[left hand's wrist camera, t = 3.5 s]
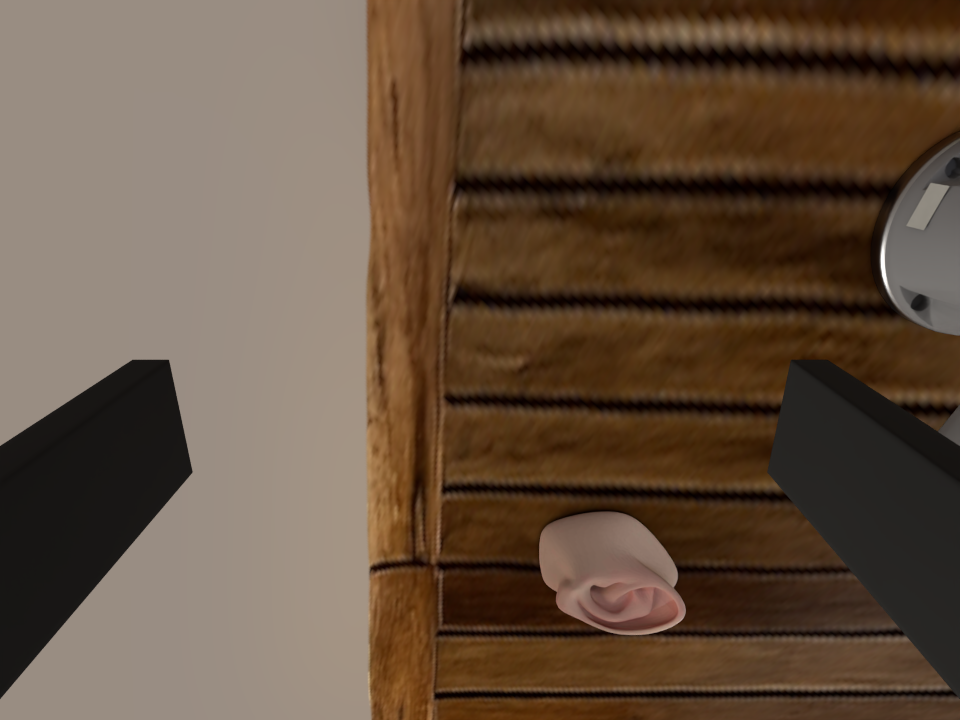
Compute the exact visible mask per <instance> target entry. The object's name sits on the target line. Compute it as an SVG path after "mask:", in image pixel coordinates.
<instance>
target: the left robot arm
mask: <svg viewBox="0 0 960 720" xmlns="http://www.w3.org/2000/svg"><path fill="white" fill-rule="evenodd" d="M871 266H872V273H873V276H874V280H875V283H876V285H877V288H878V290H879V292H880V294H881V295H882V297H883V298H884V300H885V301H886V303H887V304H888V305H889V306H890V307H891V308H892V309H893V310H894V311H895V312H897V313H898V314H899V315H901V316H902V317H904V318H905V319H907V320H909V321H912V322H914V323H916V324H918V325H921V326H923V327H925V328H927V329H930V330H933V331H936V332H941V333H945V334H953V335H960V131H959V132H957V133H955V134H953V135H951V136H949V137H947V138H946V139H944V140H942V141H941V142H939V143H938V144H936V145H935V146H933V147H932V148H930V149H929V150H928V151H927V152H925V153H924V154H923V155H922V156H921V157H920V158H919V159H917V160H916V161H915V162H914V163H913V164H912V165H911V166H910V167H909V168H908V170H907V171H906V172H905V173H904V174H903V175H902V177H901V178H900V179H899V180H898V182H897V183H896V184H895V186H894V187H893V189H892V190H891V192H890V193H889V195H888V197H887V199H886V201H885V202H884V204H883V207H882V209H881V211H880V213H879V216H878V219H877V221H876V225H875V228H874V232H873V237H872V243H871ZM191 474H192V467H191V462H190V458H189V453H188V448H187V443H186V439H185V434H184V429H183V424H182V420H181V415H180V410H179V405H178V401H177V396H176V391H175V386H174V382H173V377H172V372H171V367H170V363H169V360H132V361H130V362H129V363H127V364H125V365H124V366H122V367H121V368H119V369H118V370H116V371H115V372H113V373H112V374H110V375H109V376H107V377H106V378H104V379H102V380H101V381H99V382H98V383H96V384H95V385H93V386H92V387H90V388H89V389H87V390H86V391H84V392H83V393H81V394H79V395H78V396H76V397H75V398H73V399H72V400H70V401H69V402H67V403H66V404H64V405H63V406H61V407H59V408H58V409H56V410H55V411H53V412H52V413H50V414H49V415H47V416H46V417H44V418H43V419H41V420H39V421H38V422H36V423H35V424H33V425H32V426H30V427H29V428H27V429H26V430H24V431H23V432H21V433H19V434H18V435H16V436H15V437H13V438H12V439H10V440H9V441H7V442H6V443H4V444H3V445H1V446H0V699H1V697H2V696H3V695H4V694H5V693H6V691H7V690H8V689H9V688H10V687H11V686H12V684H13V683H14V682H15V681H16V680H17V679H18V677H19V676H20V675H21V674H22V673H23V671H24V670H25V669H26V668H27V667H28V666H29V664H30V663H31V662H32V661H33V660H34V658H35V657H36V656H37V655H38V654H39V653H40V651H41V650H42V649H43V648H44V647H45V646H46V644H47V643H48V642H49V641H50V640H51V638H52V637H53V636H54V635H55V634H56V633H57V631H58V630H59V629H60V628H61V627H62V625H63V624H64V623H65V622H66V621H67V620H68V618H69V617H70V616H71V615H72V614H73V612H74V611H75V610H76V609H77V608H78V607H79V605H80V604H81V603H82V602H83V601H84V600H85V598H86V597H87V596H88V595H89V594H90V592H91V591H92V590H93V589H94V588H95V587H96V585H97V584H98V583H99V582H100V581H101V580H102V578H103V577H104V576H105V575H106V574H107V573H108V571H109V570H110V569H111V568H112V567H113V565H114V564H115V563H116V562H117V561H118V560H119V558H120V557H121V556H122V555H123V554H124V552H125V551H126V550H127V549H128V548H129V547H130V545H131V544H132V543H133V542H134V541H135V539H136V538H137V537H138V536H139V535H140V534H141V532H142V531H143V530H144V529H145V528H146V527H147V525H148V524H149V523H150V522H151V521H152V519H153V518H154V517H155V516H156V515H157V514H158V512H159V511H160V510H161V509H162V508H163V507H164V505H165V504H166V503H167V502H168V501H169V499H170V498H171V497H172V496H173V495H174V494H175V492H176V491H177V490H178V489H179V488H180V486H181V485H182V484H183V483H184V482H185V481H186V479H187V478H188V477H189V476H190V475H191ZM768 474H769V475H770V476H771V477H772V478H773V479H774V481H775V482H776V483H777V484H778V485H779V487H780V488H781V489H782V490H783V491H784V492H785V494H786V495H787V496H788V497H789V498H790V499H791V501H792V502H793V503H794V504H795V505H796V507H797V508H798V509H799V510H800V511H801V512H802V514H803V515H804V516H805V517H806V518H807V520H808V521H809V522H810V523H811V524H812V525H813V527H814V528H815V529H816V530H817V531H818V532H819V534H820V535H821V536H822V537H823V538H824V540H825V541H826V542H827V543H828V544H829V545H830V547H831V548H832V549H833V550H834V551H835V552H836V554H837V555H838V556H839V557H840V558H841V560H842V561H843V562H844V563H845V564H846V565H847V567H848V568H849V569H850V570H851V571H852V573H853V574H854V575H855V576H856V577H857V578H858V580H859V581H860V582H861V583H862V584H863V585H864V587H865V588H866V589H867V590H868V591H869V593H870V594H871V595H872V596H873V597H874V598H875V600H876V601H877V602H878V603H879V604H880V605H881V607H882V608H883V609H884V610H885V611H886V613H887V614H888V615H889V616H890V617H891V618H892V620H893V621H894V622H895V623H896V624H897V626H898V627H899V628H900V629H901V630H902V631H903V633H904V634H905V635H906V636H907V637H908V638H909V640H910V641H911V642H912V643H913V644H914V646H915V647H916V648H917V649H918V650H919V651H920V653H921V654H922V655H923V656H924V657H925V658H926V660H927V661H928V662H929V663H930V664H931V666H932V667H933V668H934V669H935V670H936V671H937V673H938V674H939V675H940V676H941V677H942V679H943V680H944V681H945V682H946V683H947V684H948V686H949V687H950V688H951V689H952V690H953V691H954V693H955V694H956V695H957V696H958V697H959V699H960V405H959V406H958V408H957V409H956V410H955V411H954V412H953V414H952V415H951V416H950V417H949V419H948V420H947V421H946V422H945V423H944V425H943V426H942V427H941V428H940V430H939V431H938V432H937V431H936V430H934V429H933V428H931V427H930V426H928V425H927V424H925V423H924V422H922V421H921V420H919V419H918V418H916V417H914V416H913V415H911V414H910V413H908V412H907V411H905V410H904V409H902V408H901V407H899V406H898V405H896V404H894V403H893V402H891V401H890V400H888V399H887V398H885V397H884V396H882V395H881V394H879V393H878V392H876V391H874V390H873V389H871V388H870V387H868V386H867V385H865V384H864V383H862V382H861V381H859V380H858V379H856V378H855V377H853V376H851V375H850V374H848V373H847V372H845V371H844V370H842V369H841V368H839V367H838V366H836V365H835V364H833V363H831V362H830V361H828V360H791V363H790V367H789V372H788V377H787V382H786V386H785V391H784V396H783V401H782V405H781V410H780V415H779V420H778V424H777V429H776V434H775V439H774V443H773V448H772V453H771V458H770V462H769V467H768Z"/></svg>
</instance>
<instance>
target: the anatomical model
mask: <svg viewBox="0 0 960 720" xmlns="http://www.w3.org/2000/svg"><path fill="white" fill-rule="evenodd" d="M539 560H540V567H541V572H542V576H543V579H544V581H545V583H546V584H547V585H548V586H549V587H550V588H552V589H553V590H555V591H557V595H556V602H557V605H558V607H559V608H560V609H561V610H562V611H563V612H565V613H567V614H569V615H571V616H573V617H575V618H578V619H580V620H582V621H584V622H586V623H588V624H590V625H592V626H594V627H597V628H599V629H602V630H604V631H608V632H611V633H616V634H624V635H642V634H650V633H655V632H659V631H662V630H665V629H668V628H670V627H672V626H674V625H676V624H677V623H679V622H680V621H681V620H682V619H683V618H684V616H685V611H686V609H685V605H684V602H683V600H682V598H681V597H680V595H679V594H678V593H677V591H676V590H675V589H674V588H673V587H674V586H675V584H676V582H677V579H678V573H677V569H676V567H675V565H674V563H673V561H672V559H671V557H670V556H669V554H668V553H667V552H666V550H665V549H664V547H663V546H662V545H661V544H660V542H659V541H658V540H657V539H656V538H655V537H654V535H653V534H652V533H651V532H650V531H649V530H648V529H647V528H646V527H645V526H644V525H643V524H641V523H640V522H639V521H638V520H636V519H635V518H633V517H631V516H629V515H626V514H623V513H618V512H590V513H584V514H578V515H574V516H569V517H566V518H562V519H559V520H556V521H554V522H552V523H550V524H548V525H547V526H546V527H545V528H544V529H543V531H542V533H541V536H540V543H539Z"/></svg>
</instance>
